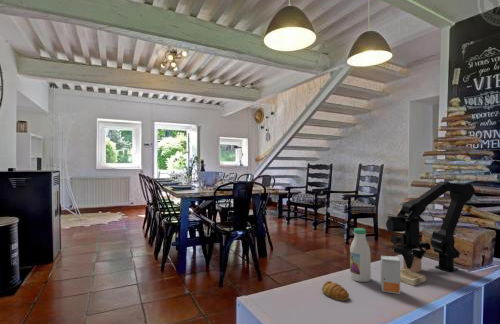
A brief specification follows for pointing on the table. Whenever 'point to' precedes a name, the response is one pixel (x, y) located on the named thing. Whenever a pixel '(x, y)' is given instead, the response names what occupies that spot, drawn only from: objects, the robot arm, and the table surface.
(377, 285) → the table surface
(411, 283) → the plinth
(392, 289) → the skincare box
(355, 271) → the milk bottle
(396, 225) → the robot arm
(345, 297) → the pastry
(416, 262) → the cube
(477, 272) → the table surface
